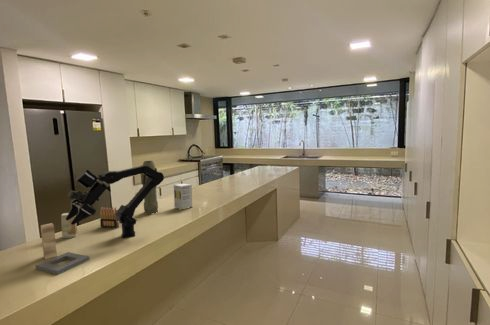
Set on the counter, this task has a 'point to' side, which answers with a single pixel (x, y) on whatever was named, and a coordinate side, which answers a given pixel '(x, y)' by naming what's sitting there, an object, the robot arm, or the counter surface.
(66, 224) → the skincare box
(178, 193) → the supplement box
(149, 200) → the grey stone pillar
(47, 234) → the maple peg
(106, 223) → the ammunition clip
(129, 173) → the robot arm
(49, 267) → the socket board
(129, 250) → the counter surface
